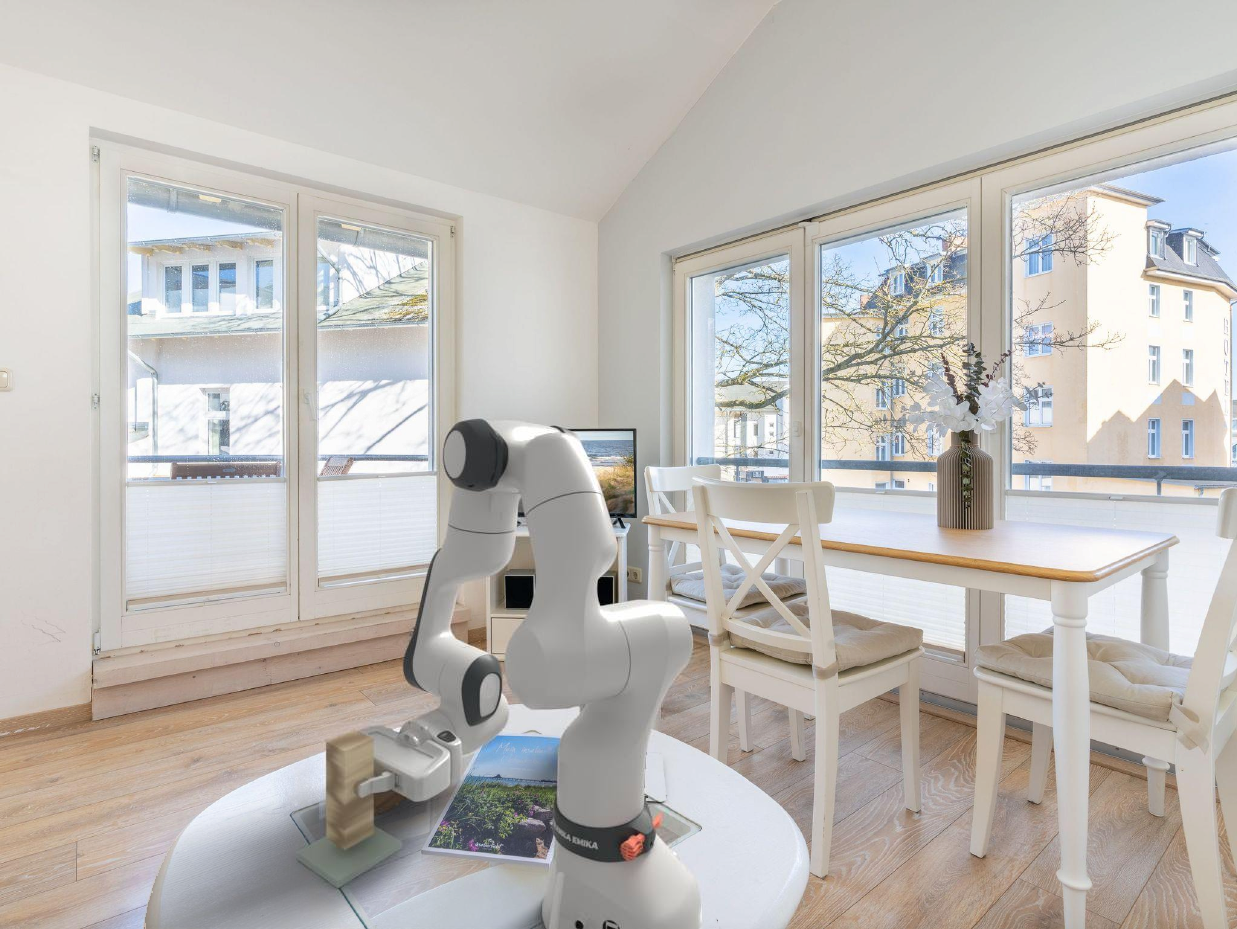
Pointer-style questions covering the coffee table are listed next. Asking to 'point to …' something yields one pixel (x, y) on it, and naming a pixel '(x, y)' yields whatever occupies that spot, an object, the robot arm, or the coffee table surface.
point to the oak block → (348, 789)
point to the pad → (348, 856)
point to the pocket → (386, 800)
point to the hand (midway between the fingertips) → (344, 784)
